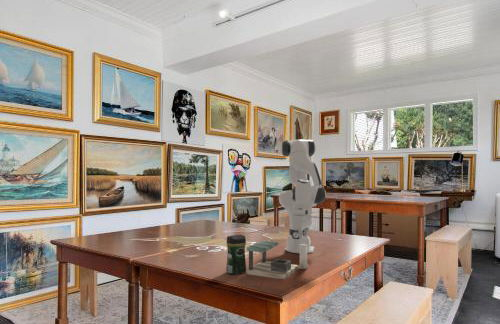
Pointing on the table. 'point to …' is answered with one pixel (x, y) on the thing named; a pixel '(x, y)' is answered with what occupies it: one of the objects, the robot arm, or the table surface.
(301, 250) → the peg
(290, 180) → the robot arm
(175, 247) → the table surface
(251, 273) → the canopy socket
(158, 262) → the table surface
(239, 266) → the coffee jar
